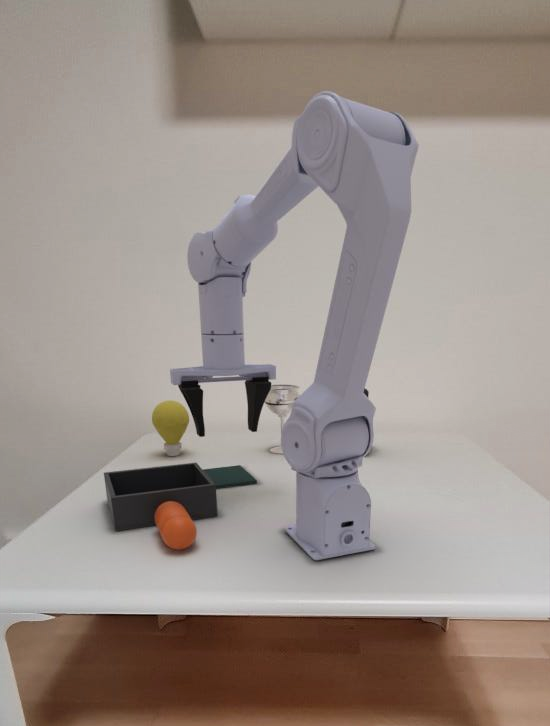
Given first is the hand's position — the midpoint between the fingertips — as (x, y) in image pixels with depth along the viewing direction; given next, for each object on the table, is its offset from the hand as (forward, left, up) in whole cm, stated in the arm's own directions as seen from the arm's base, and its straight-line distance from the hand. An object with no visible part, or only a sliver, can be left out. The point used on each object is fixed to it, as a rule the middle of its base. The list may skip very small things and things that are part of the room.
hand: (227, 432), depth 78 cm
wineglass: (+20, -16, -10) cm, 28 cm away
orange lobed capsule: (-13, +11, -9) cm, 19 cm away
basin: (-2, +11, -9) cm, 14 cm away
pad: (+8, 0, -9) cm, 12 cm away
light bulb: (+25, +4, -10) cm, 27 cm away
